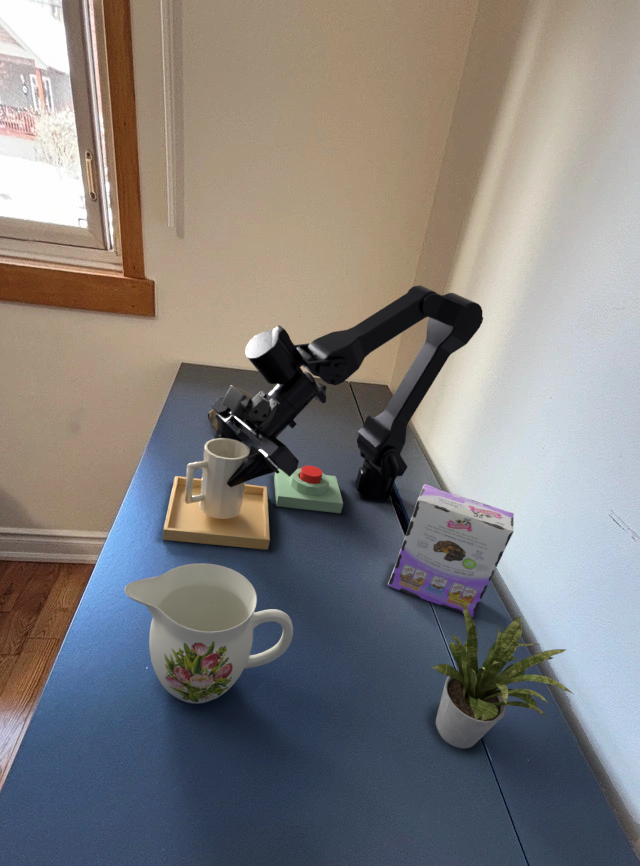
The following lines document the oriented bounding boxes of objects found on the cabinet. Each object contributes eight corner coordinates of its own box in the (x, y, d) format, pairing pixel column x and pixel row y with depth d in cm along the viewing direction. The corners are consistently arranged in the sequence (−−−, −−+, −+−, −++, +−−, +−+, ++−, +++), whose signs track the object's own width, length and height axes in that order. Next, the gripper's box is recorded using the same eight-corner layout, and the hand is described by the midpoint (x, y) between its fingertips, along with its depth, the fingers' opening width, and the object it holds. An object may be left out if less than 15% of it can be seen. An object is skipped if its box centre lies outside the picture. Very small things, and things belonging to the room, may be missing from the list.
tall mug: (228, 492, 93) (235, 435, 87) (249, 513, 89) (257, 455, 83) (174, 504, 87) (177, 443, 81) (194, 527, 83) (199, 465, 77)
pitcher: (287, 717, 60) (311, 631, 53) (118, 723, 56) (117, 629, 48) (276, 643, 69) (295, 561, 62) (128, 643, 64) (130, 553, 57)
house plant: (529, 815, 57) (605, 720, 48) (402, 778, 57) (453, 677, 48) (511, 706, 69) (569, 614, 60) (406, 676, 69) (448, 581, 60)
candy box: (475, 596, 86) (516, 512, 77) (472, 619, 81) (515, 532, 72) (394, 566, 88) (424, 481, 80) (386, 586, 84) (417, 498, 75)
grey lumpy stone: (247, 432, 113) (248, 420, 122) (234, 403, 110) (236, 393, 119) (214, 445, 114) (218, 432, 123) (200, 416, 111) (205, 405, 120)
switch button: (319, 475, 102) (321, 467, 101) (321, 485, 98) (323, 477, 97) (298, 472, 101) (300, 464, 100) (300, 483, 98) (302, 474, 97)
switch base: (333, 485, 107) (338, 468, 105) (340, 513, 99) (345, 495, 97) (274, 478, 104) (277, 460, 102) (276, 506, 96) (279, 487, 94)
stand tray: (265, 495, 98) (266, 486, 97) (267, 549, 85) (269, 539, 84) (174, 485, 95) (175, 475, 94) (162, 539, 82) (163, 529, 81)
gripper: (227, 348, 84) (158, 419, 84) (296, 395, 73) (217, 478, 73) (262, 391, 93) (200, 456, 93) (328, 439, 82) (258, 513, 82)
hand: (216, 474), depth 85 cm, fingers closed on tall mug, 7 cm apart
